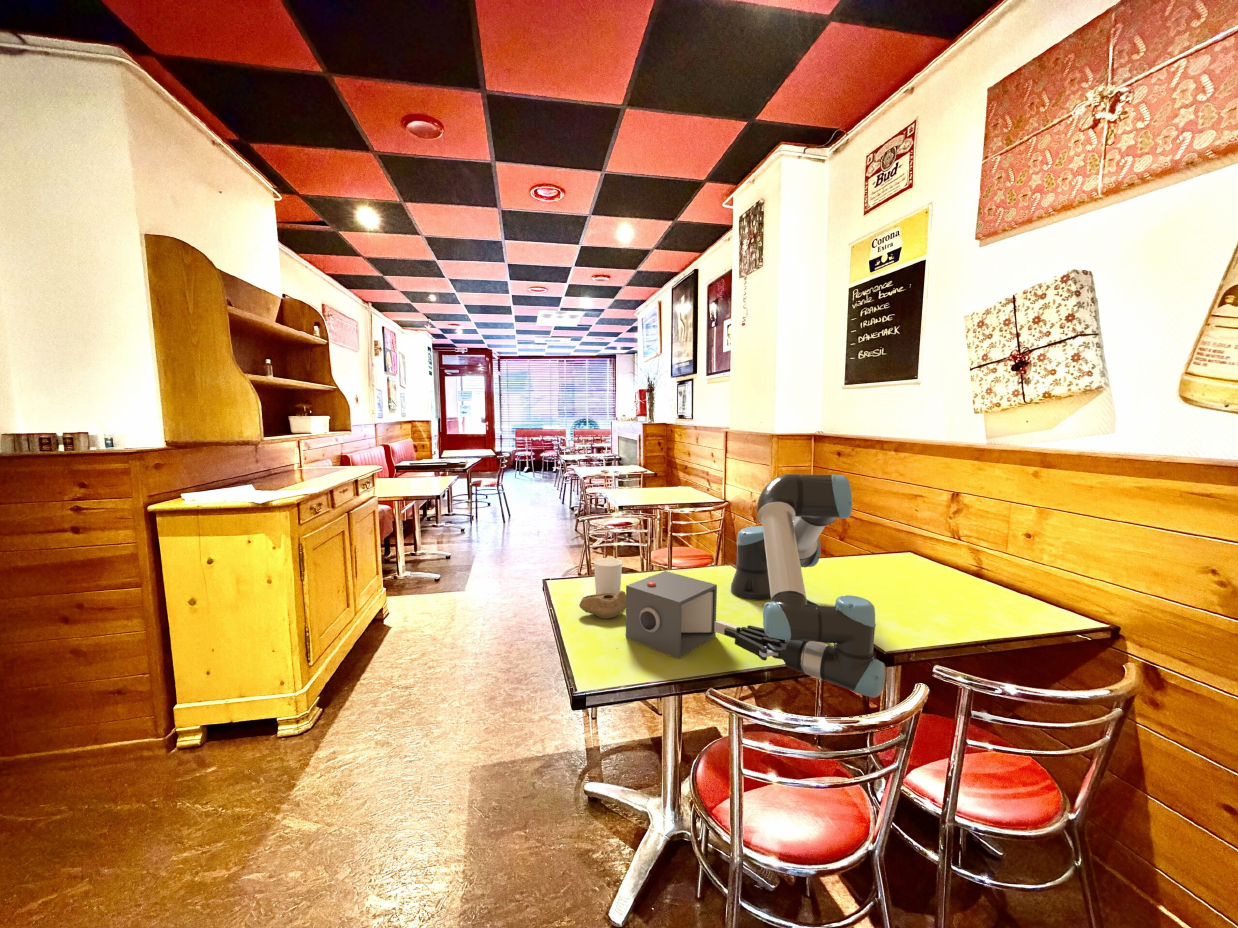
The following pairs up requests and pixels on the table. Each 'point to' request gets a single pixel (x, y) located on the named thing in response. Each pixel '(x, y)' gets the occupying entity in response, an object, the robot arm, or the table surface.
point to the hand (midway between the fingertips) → (716, 625)
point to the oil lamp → (604, 604)
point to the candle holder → (608, 575)
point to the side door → (698, 614)
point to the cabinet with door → (665, 612)
